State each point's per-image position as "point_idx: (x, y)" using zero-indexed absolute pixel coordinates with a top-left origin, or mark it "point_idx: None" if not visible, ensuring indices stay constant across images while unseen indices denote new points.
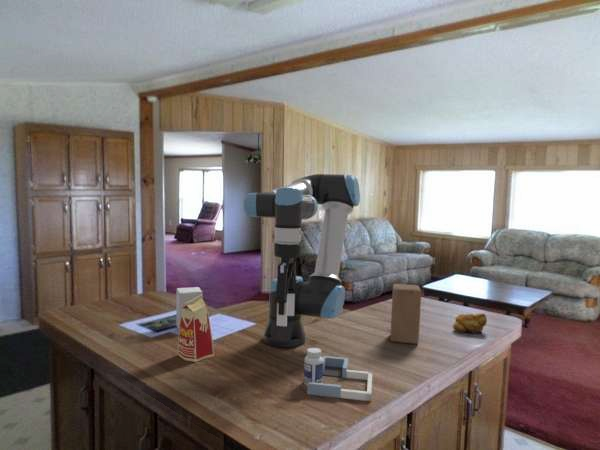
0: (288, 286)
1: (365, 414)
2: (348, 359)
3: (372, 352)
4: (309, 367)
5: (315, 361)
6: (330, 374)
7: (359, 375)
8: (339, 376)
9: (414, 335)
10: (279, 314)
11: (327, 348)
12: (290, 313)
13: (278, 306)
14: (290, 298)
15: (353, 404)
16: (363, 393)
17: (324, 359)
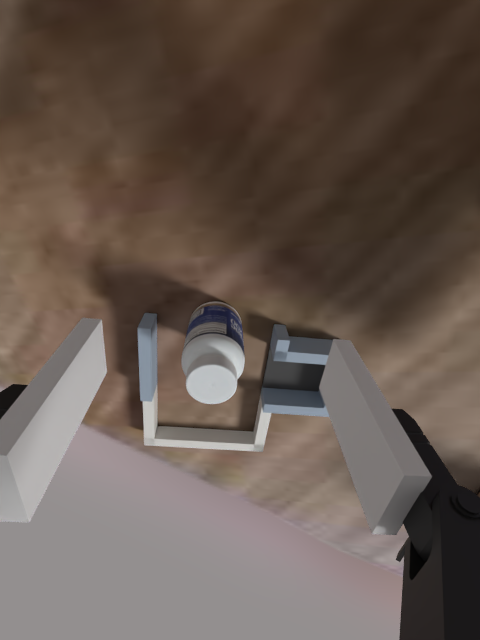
0: (427, 601)
1: (87, 421)
2: (327, 415)
3: None
4: (184, 344)
5: (184, 372)
6: (272, 363)
7: (256, 424)
8: (263, 381)
9: None
10: (12, 392)
11: (475, 350)
12: (328, 380)
13: (5, 427)
14: (365, 470)
15: (123, 404)
16: (144, 432)
17: (322, 362)
